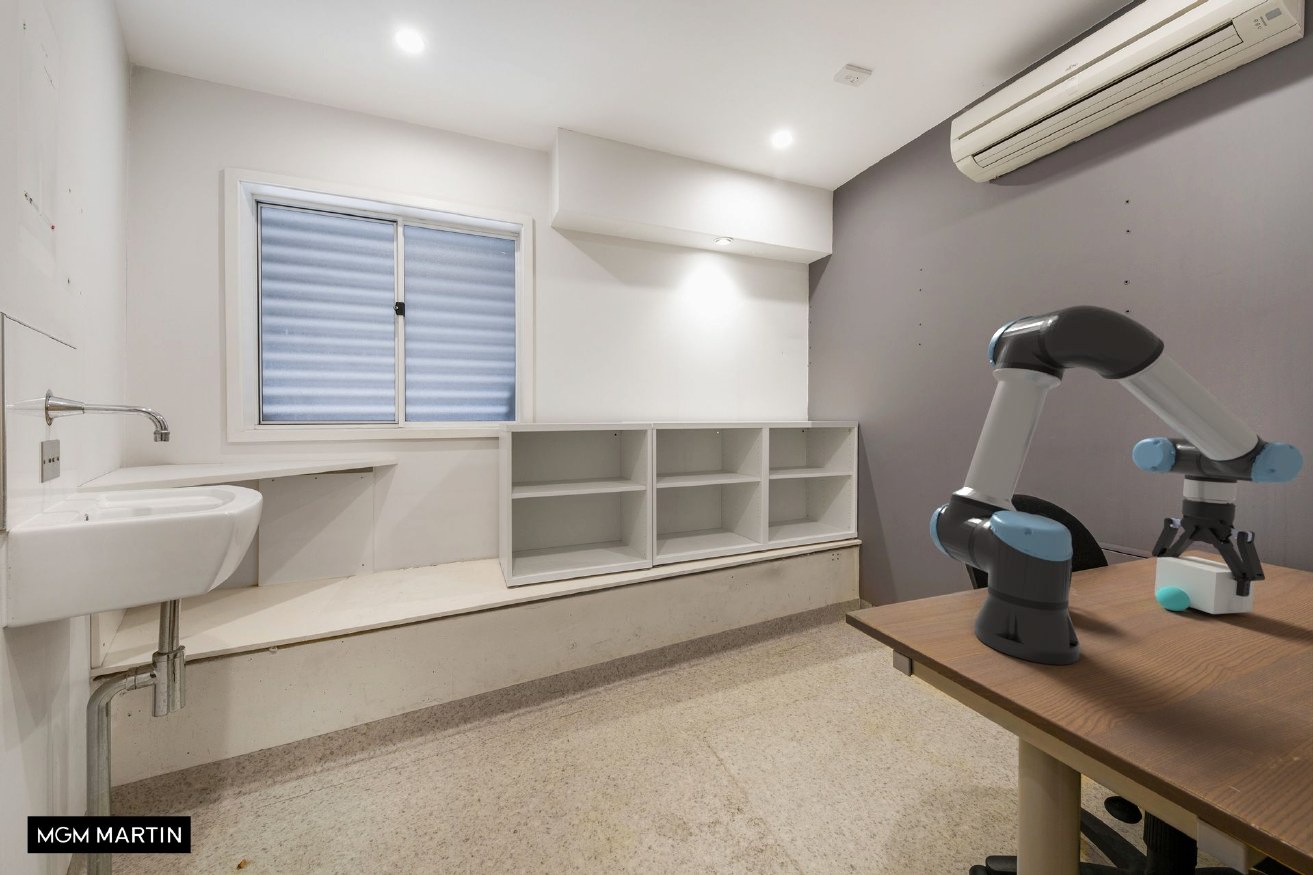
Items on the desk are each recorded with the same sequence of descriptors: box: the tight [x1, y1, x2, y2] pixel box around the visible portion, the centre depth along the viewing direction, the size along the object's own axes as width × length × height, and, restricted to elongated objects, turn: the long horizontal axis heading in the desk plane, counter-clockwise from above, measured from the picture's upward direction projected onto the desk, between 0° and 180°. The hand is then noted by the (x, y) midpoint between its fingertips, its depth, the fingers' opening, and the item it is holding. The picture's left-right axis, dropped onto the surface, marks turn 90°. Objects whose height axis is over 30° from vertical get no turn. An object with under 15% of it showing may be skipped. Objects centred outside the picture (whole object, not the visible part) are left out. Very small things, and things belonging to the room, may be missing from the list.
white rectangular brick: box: [1154, 556, 1255, 615], centre depth 104 cm, size 10×10×9 cm
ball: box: [1155, 587, 1190, 612], centre depth 103 cm, size 5×5×5 cm
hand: (1201, 599), depth 104 cm, fingers closed on white rectangular brick, 10 cm apart
